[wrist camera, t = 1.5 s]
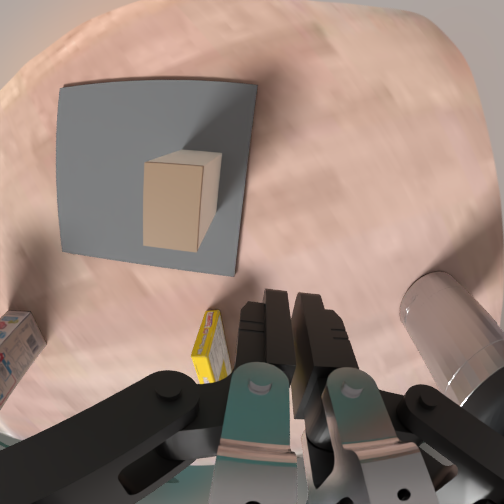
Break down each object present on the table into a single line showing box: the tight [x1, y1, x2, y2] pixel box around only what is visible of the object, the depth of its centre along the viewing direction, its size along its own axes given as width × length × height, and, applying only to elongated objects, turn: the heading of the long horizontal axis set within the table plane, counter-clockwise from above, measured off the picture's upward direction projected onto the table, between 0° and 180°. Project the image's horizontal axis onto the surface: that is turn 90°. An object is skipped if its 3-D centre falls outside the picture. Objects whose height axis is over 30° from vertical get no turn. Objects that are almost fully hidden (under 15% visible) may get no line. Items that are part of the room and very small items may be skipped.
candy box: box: [191, 310, 232, 384], centre depth 35 cm, size 16×2×8 cm, turn 6°
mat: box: [56, 80, 257, 277], centre depth 29 cm, size 22×20×1 cm
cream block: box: [143, 150, 222, 253], centre depth 24 cm, size 4×6×10 cm, turn 173°
